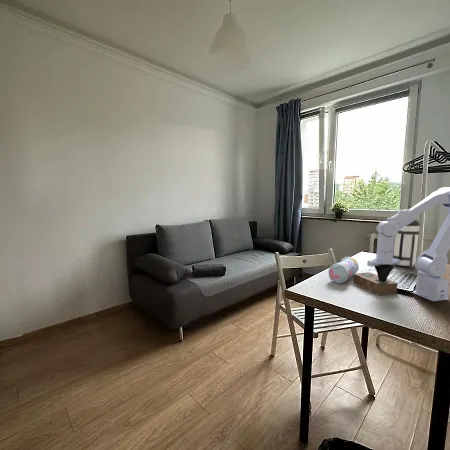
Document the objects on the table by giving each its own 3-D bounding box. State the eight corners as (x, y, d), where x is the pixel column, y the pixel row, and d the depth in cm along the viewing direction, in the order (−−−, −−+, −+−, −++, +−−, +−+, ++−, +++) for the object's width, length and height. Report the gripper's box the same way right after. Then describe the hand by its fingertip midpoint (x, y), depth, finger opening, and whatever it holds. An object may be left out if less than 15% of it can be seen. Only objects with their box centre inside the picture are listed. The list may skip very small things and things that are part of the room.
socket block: (396, 293, 99) (397, 283, 98) (378, 295, 97) (379, 284, 96) (369, 281, 112) (370, 272, 112) (353, 282, 110) (353, 273, 110)
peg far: (372, 285, 107) (372, 276, 107) (366, 285, 107) (366, 276, 106) (366, 282, 110) (367, 273, 110) (360, 283, 110) (361, 274, 109)
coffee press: (378, 262, 145) (383, 212, 141) (405, 262, 144) (410, 213, 140) (398, 271, 128) (403, 215, 124) (428, 271, 127) (435, 215, 123)
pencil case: (340, 271, 127) (341, 254, 126) (358, 275, 121) (360, 257, 120) (326, 282, 112) (327, 262, 111) (346, 286, 106) (348, 266, 105)
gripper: (390, 247, 104) (388, 277, 106) (362, 248, 101) (360, 279, 102) (406, 251, 97) (402, 282, 99) (376, 252, 94) (373, 285, 96)
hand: (382, 281), depth 100 cm, fingers closed, pressing on peg near
